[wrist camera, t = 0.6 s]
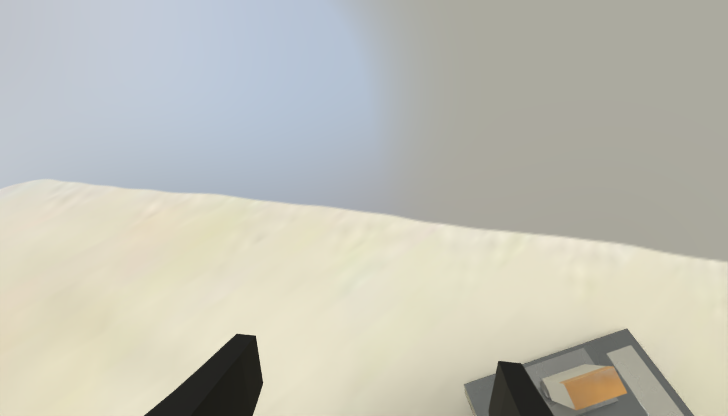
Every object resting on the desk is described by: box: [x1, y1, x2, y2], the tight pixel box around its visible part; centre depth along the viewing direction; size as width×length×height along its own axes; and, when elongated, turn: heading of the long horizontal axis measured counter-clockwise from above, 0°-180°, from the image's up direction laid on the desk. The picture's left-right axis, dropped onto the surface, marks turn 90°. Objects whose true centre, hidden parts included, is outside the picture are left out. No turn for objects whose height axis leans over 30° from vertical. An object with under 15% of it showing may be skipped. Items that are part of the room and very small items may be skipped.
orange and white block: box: [540, 364, 627, 410], centre depth 21 cm, size 1×3×4 cm, turn 103°
